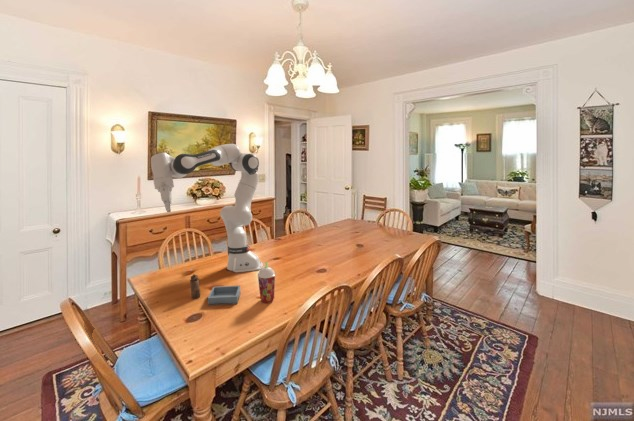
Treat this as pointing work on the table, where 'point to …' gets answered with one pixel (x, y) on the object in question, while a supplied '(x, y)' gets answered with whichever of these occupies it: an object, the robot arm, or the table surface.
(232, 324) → the table surface
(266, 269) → the smoothie
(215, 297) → the serving tray
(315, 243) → the table surface
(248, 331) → the table surface
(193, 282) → the pepper mill
